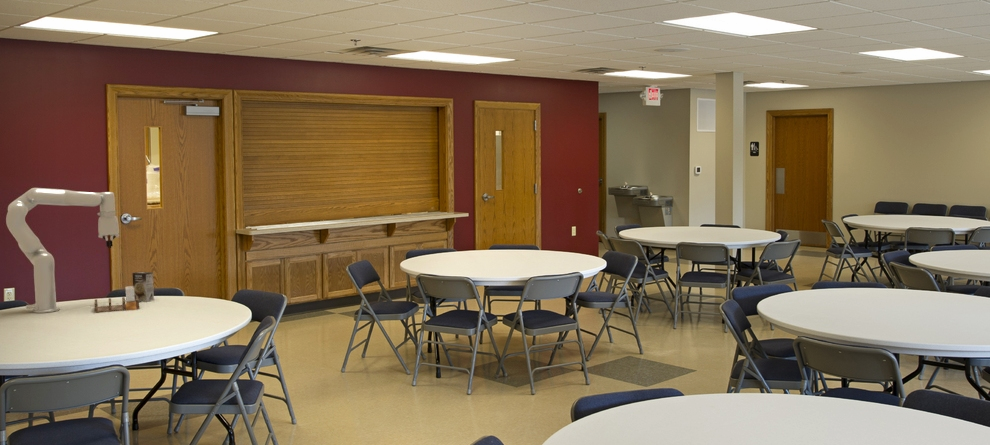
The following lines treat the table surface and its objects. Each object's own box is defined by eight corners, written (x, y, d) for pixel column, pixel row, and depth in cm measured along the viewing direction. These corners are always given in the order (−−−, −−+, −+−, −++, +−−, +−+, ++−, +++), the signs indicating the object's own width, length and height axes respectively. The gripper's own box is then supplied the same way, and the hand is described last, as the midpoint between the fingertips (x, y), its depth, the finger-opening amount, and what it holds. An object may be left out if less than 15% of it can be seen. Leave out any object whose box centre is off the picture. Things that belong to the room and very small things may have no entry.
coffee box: (133, 301, 468) (131, 272, 467) (141, 299, 474) (139, 271, 473) (146, 302, 466) (145, 273, 464) (154, 300, 472) (153, 271, 471)
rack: (94, 313, 434) (94, 303, 434) (95, 308, 448) (94, 299, 448) (139, 309, 443) (139, 300, 443) (138, 304, 457) (137, 296, 457)
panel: (126, 308, 443) (125, 289, 442) (126, 304, 453) (125, 286, 452) (135, 307, 444) (134, 288, 444) (134, 304, 454) (133, 286, 453)
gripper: (92, 215, 451) (94, 249, 453) (123, 214, 457) (124, 247, 459) (92, 214, 458) (94, 248, 459) (122, 213, 464) (124, 246, 466)
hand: (109, 247), depth 459 cm, fingers closed
